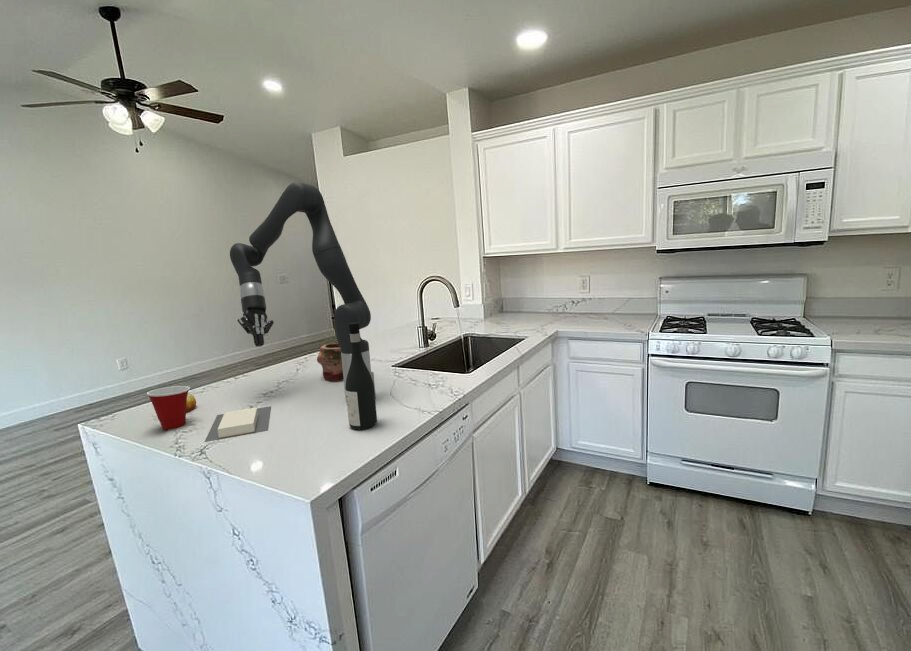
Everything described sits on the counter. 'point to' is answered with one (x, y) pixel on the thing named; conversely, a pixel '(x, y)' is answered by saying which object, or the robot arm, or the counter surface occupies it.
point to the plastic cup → (170, 405)
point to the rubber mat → (261, 426)
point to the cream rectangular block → (238, 422)
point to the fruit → (190, 402)
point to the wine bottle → (359, 386)
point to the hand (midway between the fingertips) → (259, 345)
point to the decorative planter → (331, 362)
